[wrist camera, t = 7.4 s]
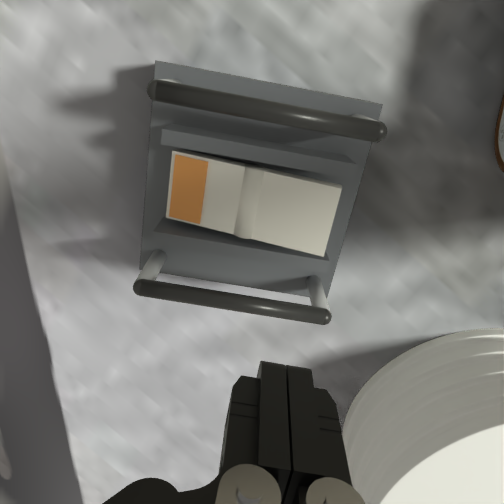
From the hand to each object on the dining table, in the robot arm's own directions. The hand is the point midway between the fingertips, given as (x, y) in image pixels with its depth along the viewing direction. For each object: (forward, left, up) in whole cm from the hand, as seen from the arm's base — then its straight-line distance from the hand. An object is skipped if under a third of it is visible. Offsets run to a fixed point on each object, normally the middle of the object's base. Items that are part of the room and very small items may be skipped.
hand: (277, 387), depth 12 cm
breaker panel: (+1, 0, -25) cm, 25 cm away
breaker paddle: (+1, 0, -19) cm, 19 cm away
